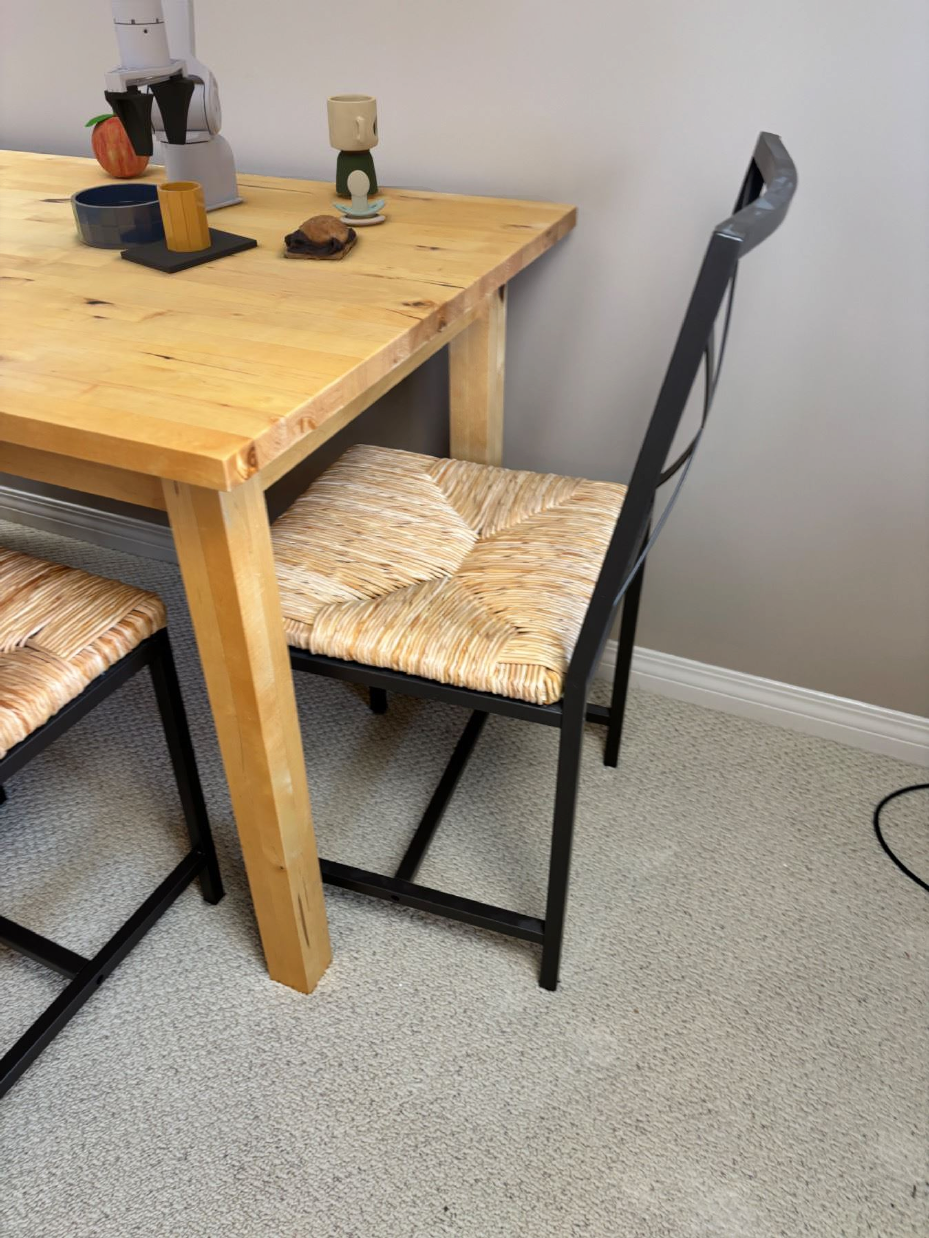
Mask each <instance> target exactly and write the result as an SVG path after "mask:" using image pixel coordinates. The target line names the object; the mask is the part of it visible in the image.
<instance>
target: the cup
mask: <svg viewBox="0 0 929 1238" xmlns="http://www.w3.org/2000/svg"><path fill="white" fill-rule="evenodd" d="M157 192H158V197H159V203H160V208H161V214H162V219H163V225H164V230H165V236H166V241H167V247H168V249H169V250H172V251H176V252H194V251H200V250H204V249H206V248H208V247H210V246H211V241H210V235H209V228H208V227H209V222H208V215H207V211H206V209H205V202H204V196H203V190H202V185H201V183H197V182H193V181H175V182H168V183H167V182H163V183H161V184H159V185H158V186H157Z"/></svg>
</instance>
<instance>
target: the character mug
mask: <svg viewBox="0 0 929 1238" xmlns="http://www.w3.org/2000/svg"><path fill="white" fill-rule="evenodd" d="M326 108H327V109H326V110H327V122H328V124H327V125H328V137H329V144H330V147H331V148H332V149H335V150H337V151H339V152H338V154H337V158H336V168H335V171H336V172H335V192H336V194H339V195H344V196H345V195H346V196H347V195H348V196H349V195H350V196H351V192H350V191H349V189H348V183H347V182H348V177H349V175H350V174H351V173H352V172H353V171H356V170H360V171H362V172H364V173H365V174H366V175H367V177H368V179H369V183H370V186H369V190H368V192H367V195H371V196H372V195H375V194H377V193H378V191H379V187H378V179H377V173H376V168H375V163H374V156H373V155H372V153H371V149H373V148H374V147H377V146H378V144H379V133H378V132H379V131H378V129H379V128H378V105H377V97H376V96H374V95H368V94H358V93H357V94H355V93H351V94H349V93H348V94H347V93H345V94H336V95H331V96H328V97H327V98H326Z"/></svg>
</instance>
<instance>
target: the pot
mask: <svg viewBox="0 0 929 1238" xmlns="http://www.w3.org/2000/svg"><path fill="white" fill-rule="evenodd" d="M158 185H160V184H158V183H150V182H120V183H119V182H118V183H109V184H102V185H96V186H92V187H87V188H84V189H81V190H79V191H76V192H75V193H73V194H72V195H71V196H70V205H71V208H72V209H71V210H72V213H73V218H74V221H75V225H76V231H77V235H78V237H79V240H80V242H81V243H83V244H84V245H86V246H89V247H91V248H97V249H106V250H128V249H132V248H136V247H139V246H143V245H146V244H150V243H153V242H157V241H160V240H164V239H166V236H165V230H164V225H163V219H162V214H161V208H160V203H159V197H158V192H157V186H158Z"/></svg>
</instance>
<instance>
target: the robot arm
mask: <svg viewBox="0 0 929 1238" xmlns="http://www.w3.org/2000/svg"><path fill="white" fill-rule="evenodd" d="M109 3H110V8H111V13H112V18H113V23H114V30H115V35H116V40H117V46H118V52H119V56H120V61H121V63H118V64H114V69H112V70H111V71H107V72H104V79H105V83H106V89H105V90H103V94H104V99H105V101H106V102H107V103H108V105H109V106H110V108H111V110H112V109H113V110H114V111H115V113H116V115H117V116H118V118H119V119H120V121H121V123H122V125H123V127H124V129H125V131H126V133H127V136H128V138H129V140H130V143H131V145H132V147H133V150H134V152H135V154H136V156H147V157H153V156H154V139H153V138H154V137H153V136H155V140H156V142H160V148H161V153H162V159H163V165H164V170H165V176H166V183H168V182H175V181H193V182H197V183H201V185H202V190H203V196H204V202H205V209H206V212H210V211H213V210H217V209H221V208H224V207H229V206H232V205H235V204H240V203H242V202H244V199H243V197H240V196H239V189H238V188H239V186H238V179H237V172H236V165H235V158H234V153H233V150H232V147H231V146H230V143H229V141H228V140H227V139H226V138H225V137H224V136H222V135H221V134H219V132H220V131H221V129H222V121H223V120H222V119H223V118H222V116H223V115H222V106H221V101H220V95H219V86H218V82H217V79H216V77H215V75H214V73H213V72H212V70H211V69H210V68H209V67H207V66H206V65H205V64H204V63H203V62H201V61H200V60H199V59H198V58H197V50H196V30H195V7H194V0H109ZM139 88H141V89H139ZM113 110H112V111H113Z"/></svg>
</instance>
